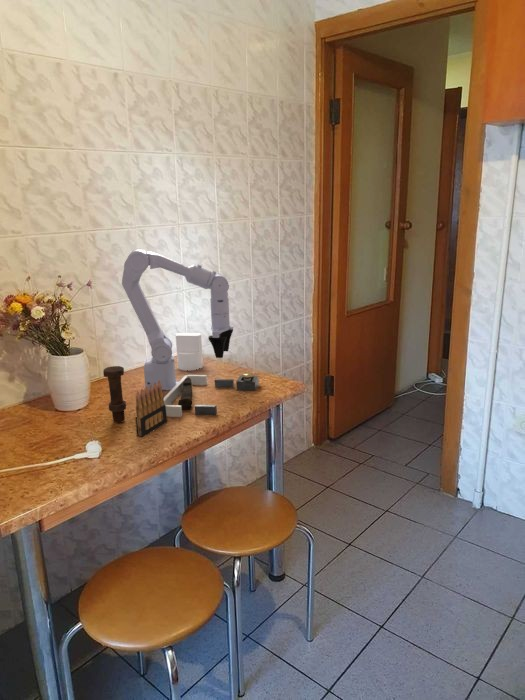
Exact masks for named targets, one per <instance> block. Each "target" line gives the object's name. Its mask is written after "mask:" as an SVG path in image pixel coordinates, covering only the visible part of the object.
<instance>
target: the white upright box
mask: <svg viewBox="0 0 525 700" xmlns="http://www.w3.org/2000/svg"><path fill="white" fill-rule="evenodd" d="M202 342H203V341H202V333H186V332H185V333H182V332H181V333H176V334H175V344H176V359H177V369H178V370H180V371H187V370H188V371H197V370H199V368H200V369H202V368H203V367H204V360H203V359H204V357H203V343H202ZM196 369H197V370H196Z"/></svg>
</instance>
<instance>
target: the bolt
mask: <svg viewBox="0 0 525 700" xmlns="http://www.w3.org/2000/svg"><path fill="white" fill-rule="evenodd" d="M124 369H125V367H123V366H120V365H113V366H107V367H105V368H104V369H103V372H102V373H103V374H102V375H103V378H107V381H108V385H109V386H108V387H109V388H108V389H109V396H110V397H109V398H110V402H109V403H108V411H110V412H111V413H112V421H113V422H114V423H115V424H121V423H122V422H124V421H125V420H126V419H125V418H126V416H125V410H126V409H127V402H126V401H125V399H124V397H123V389H122V386H123V385H122V376H124V374H125V370H124Z"/></svg>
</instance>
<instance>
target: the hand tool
mask: <svg viewBox="0 0 525 700" xmlns="http://www.w3.org/2000/svg"><path fill="white" fill-rule="evenodd" d="M192 397H193V385H192V382H191V379H190V378H186V379H185V380H184V382H183V390H182V392H181V394H180V399H179V400H178V402H177V405H181V406H182V412H183V411H184V412H187V411H188V410H189V411H191V410H192V408H193V398H192Z"/></svg>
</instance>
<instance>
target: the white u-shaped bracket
mask: <svg viewBox="0 0 525 700" xmlns="http://www.w3.org/2000/svg"><path fill="white" fill-rule="evenodd" d="M207 376H208V374H184V376H183V377H182V378H181V379H180V380H178V381H179V382H178V383H177V385H176V386H175V387H174V388H173V389H172V390H169V391H168V392H167V394H166V395H164V396H163V397H164V405H166V415H167V418H168V417H170V418H171V417H172V418H181V417H183V411H182V406H181V405H178V404H175V405H174V404H173V403H174V401H175V400H176V399H177V398H178V397H179V396H181V394H182V390H183V382H184V380H185V379H186V378H190V379H191V382H192V386H195V385H196V386H207V385H208V377H207Z"/></svg>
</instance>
